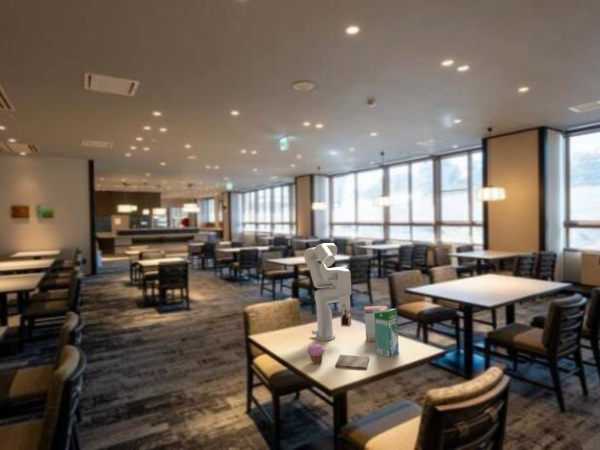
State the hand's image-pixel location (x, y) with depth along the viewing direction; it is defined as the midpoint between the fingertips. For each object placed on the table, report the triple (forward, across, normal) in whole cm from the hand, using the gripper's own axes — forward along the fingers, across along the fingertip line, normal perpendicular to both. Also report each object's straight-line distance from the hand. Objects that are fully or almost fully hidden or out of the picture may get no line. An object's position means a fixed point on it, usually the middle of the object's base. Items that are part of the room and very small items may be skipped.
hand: (346, 323), depth 203 cm
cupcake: (+18, +16, -14) cm, 27 cm away
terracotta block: (+1, 0, 0) cm, 1 cm away
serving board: (+17, +13, +5) cm, 22 cm away
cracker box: (+18, -24, +15) cm, 34 cm away
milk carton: (+18, -4, +22) cm, 28 cm away
